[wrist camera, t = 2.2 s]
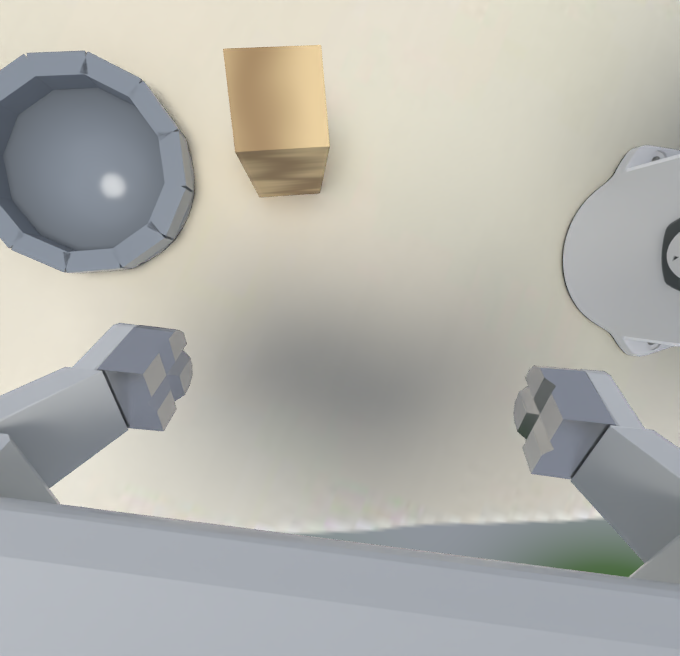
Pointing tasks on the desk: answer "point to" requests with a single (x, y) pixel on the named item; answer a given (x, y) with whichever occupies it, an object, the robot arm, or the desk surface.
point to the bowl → (88, 164)
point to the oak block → (279, 117)
